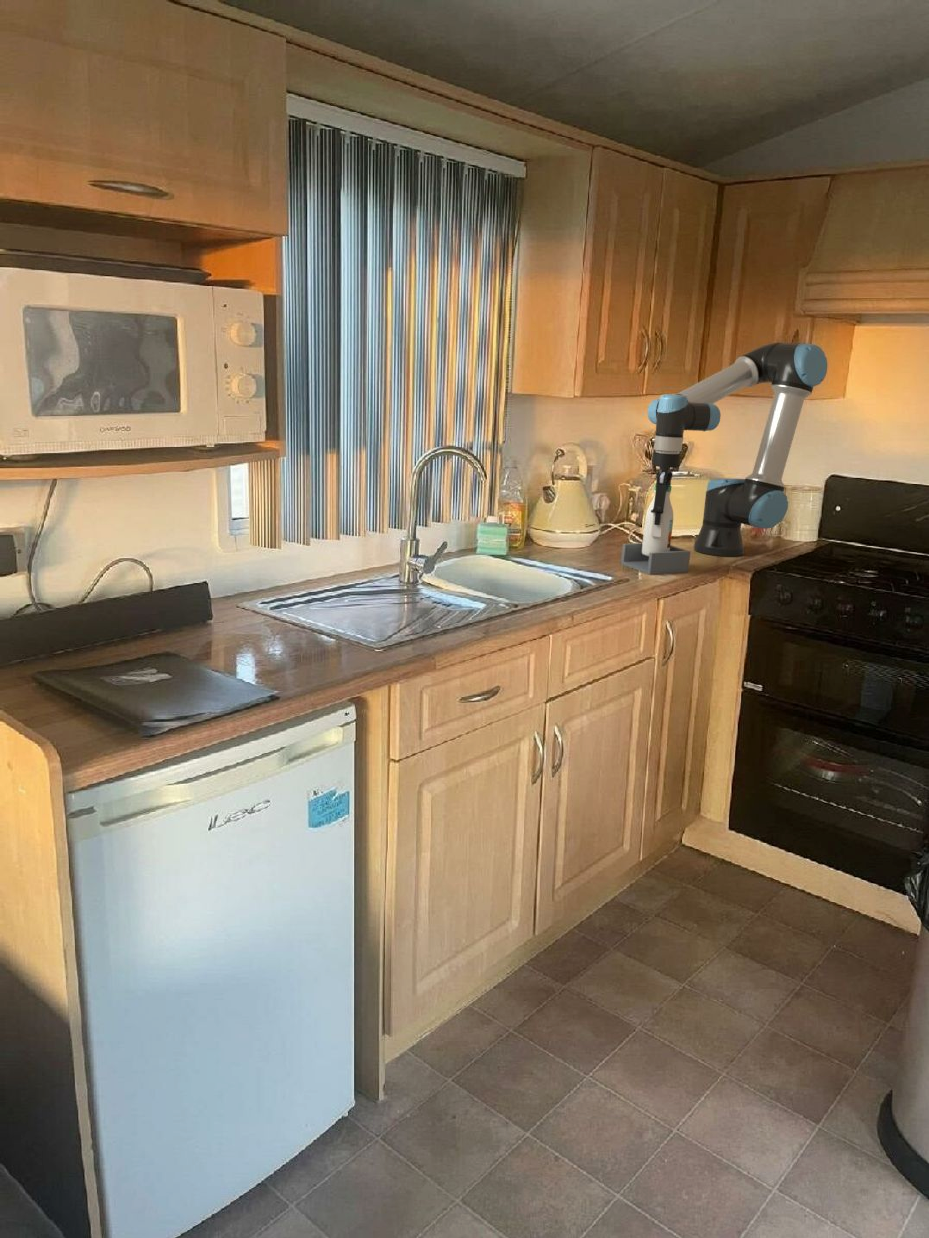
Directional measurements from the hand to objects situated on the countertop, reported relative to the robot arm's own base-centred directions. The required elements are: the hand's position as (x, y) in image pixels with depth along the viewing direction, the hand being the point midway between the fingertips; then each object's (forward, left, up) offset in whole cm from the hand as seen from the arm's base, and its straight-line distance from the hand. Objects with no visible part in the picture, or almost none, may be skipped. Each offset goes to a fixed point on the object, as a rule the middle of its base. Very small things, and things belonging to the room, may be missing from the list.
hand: (657, 533), depth 271 cm
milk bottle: (0, 0, -6) cm, 6 cm away
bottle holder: (0, 0, -10) cm, 10 cm away
